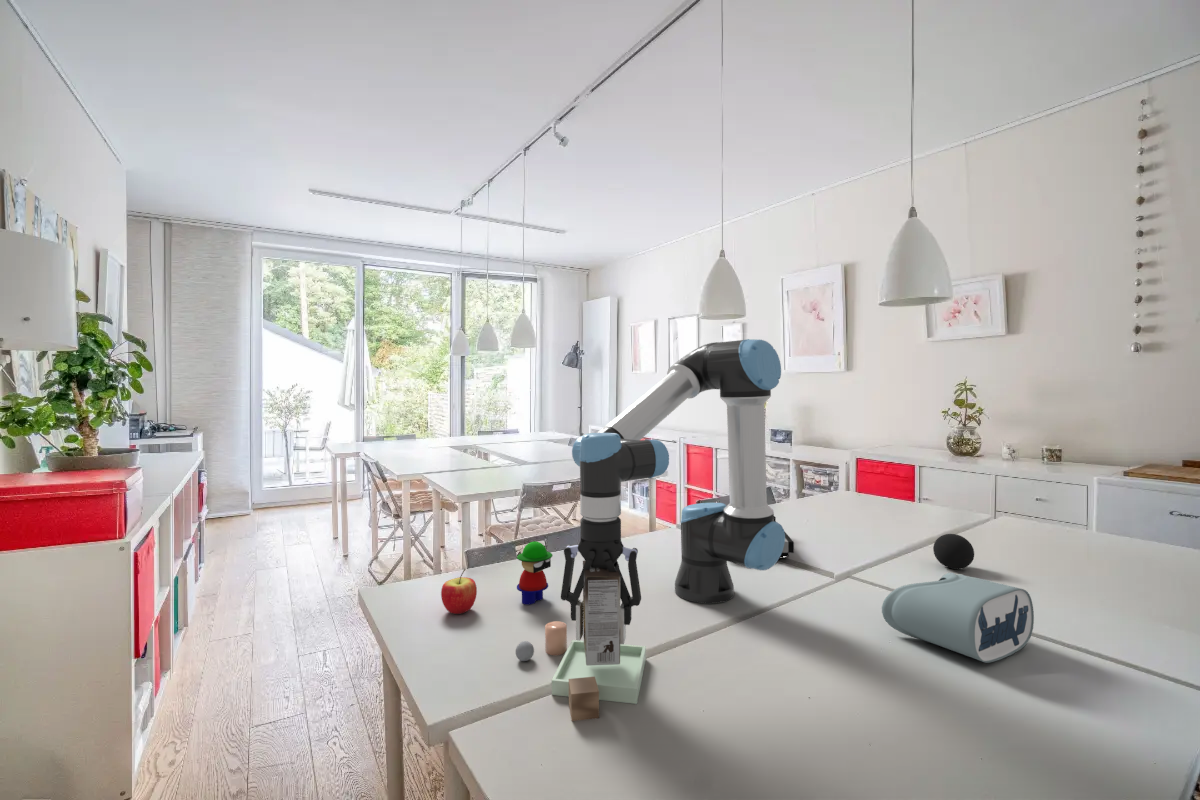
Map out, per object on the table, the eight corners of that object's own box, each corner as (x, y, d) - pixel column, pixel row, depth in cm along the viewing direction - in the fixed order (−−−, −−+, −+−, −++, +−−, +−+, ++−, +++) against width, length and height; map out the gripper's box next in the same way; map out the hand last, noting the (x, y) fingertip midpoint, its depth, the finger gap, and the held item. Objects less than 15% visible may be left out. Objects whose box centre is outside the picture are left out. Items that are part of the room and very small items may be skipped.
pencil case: (975, 673, 98) (972, 604, 98) (880, 636, 115) (878, 577, 115) (1035, 646, 108) (1032, 583, 109) (940, 615, 125) (937, 561, 125)
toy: (543, 591, 140) (542, 535, 139) (559, 602, 132) (558, 542, 132) (511, 599, 135) (510, 540, 134) (526, 611, 128) (525, 549, 127)
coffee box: (582, 642, 103) (582, 559, 102) (615, 640, 103) (615, 558, 103) (585, 666, 94) (584, 576, 93) (621, 665, 94) (621, 575, 94)
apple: (484, 610, 128) (483, 569, 128) (453, 622, 122) (452, 579, 121) (465, 601, 133) (464, 562, 133) (434, 612, 127) (434, 570, 127)
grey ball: (536, 656, 106) (536, 638, 106) (530, 665, 102) (530, 647, 102) (519, 654, 107) (519, 637, 107) (513, 663, 103) (512, 645, 103)
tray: (645, 659, 105) (645, 646, 105) (636, 703, 90) (636, 688, 90) (572, 652, 107) (572, 639, 107) (551, 694, 93) (551, 680, 93)
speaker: (973, 566, 157) (973, 532, 157) (975, 576, 148) (975, 541, 148) (933, 560, 162) (933, 528, 162) (933, 570, 154) (933, 536, 153)
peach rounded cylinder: (569, 645, 110) (568, 622, 110) (563, 656, 106) (563, 631, 106) (548, 644, 111) (548, 620, 111) (542, 654, 107) (542, 630, 107)
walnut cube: (594, 702, 91) (594, 676, 90) (599, 718, 86) (598, 691, 86) (568, 705, 90) (568, 678, 90) (571, 721, 85) (571, 694, 85)
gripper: (657, 514, 100) (657, 634, 100) (553, 510, 103) (553, 625, 104) (653, 524, 92) (654, 653, 93) (541, 519, 96) (542, 643, 97)
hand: (601, 638), depth 98 cm, fingers closed on coffee box, 7 cm apart
